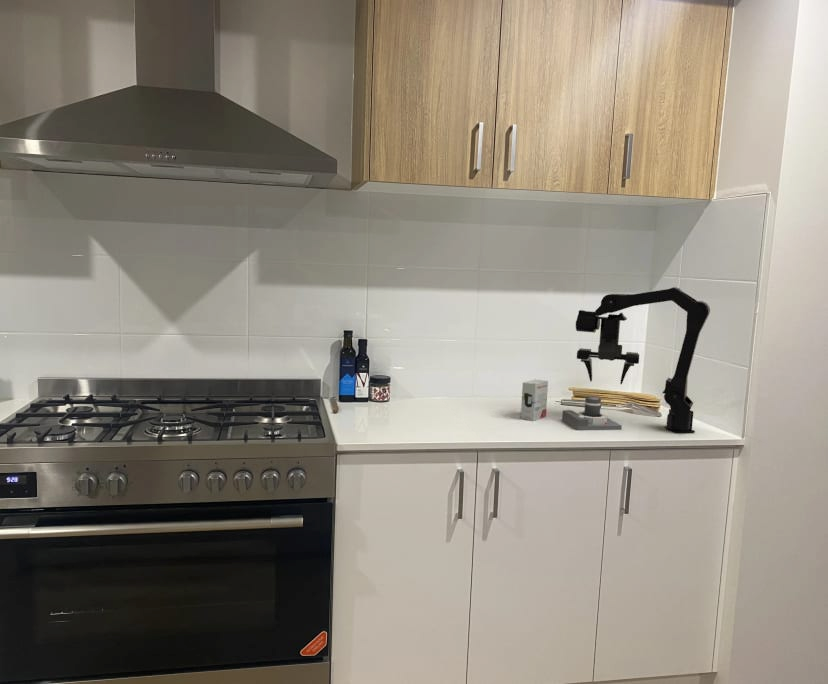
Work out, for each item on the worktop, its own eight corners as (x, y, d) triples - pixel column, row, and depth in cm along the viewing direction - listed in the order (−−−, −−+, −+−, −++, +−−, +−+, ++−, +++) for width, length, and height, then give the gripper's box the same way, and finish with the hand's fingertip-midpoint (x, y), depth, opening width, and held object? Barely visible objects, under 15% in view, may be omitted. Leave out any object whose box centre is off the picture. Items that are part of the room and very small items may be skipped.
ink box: (533, 414, 218) (535, 378, 217) (546, 416, 215) (549, 380, 214) (519, 418, 212) (521, 381, 210) (533, 421, 209) (535, 384, 207)
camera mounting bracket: (603, 419, 214) (604, 408, 213) (621, 429, 202) (622, 417, 202) (562, 420, 211) (562, 408, 211) (578, 430, 199) (578, 417, 199)
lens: (584, 418, 209) (586, 396, 208) (599, 420, 208) (601, 397, 207) (582, 421, 205) (584, 398, 204) (598, 423, 203) (600, 400, 202)
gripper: (576, 334, 206) (573, 384, 208) (640, 338, 200) (636, 390, 202) (580, 330, 216) (576, 378, 218) (641, 335, 210) (637, 384, 212)
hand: (605, 382), depth 212 cm, fingers open, 9 cm apart
